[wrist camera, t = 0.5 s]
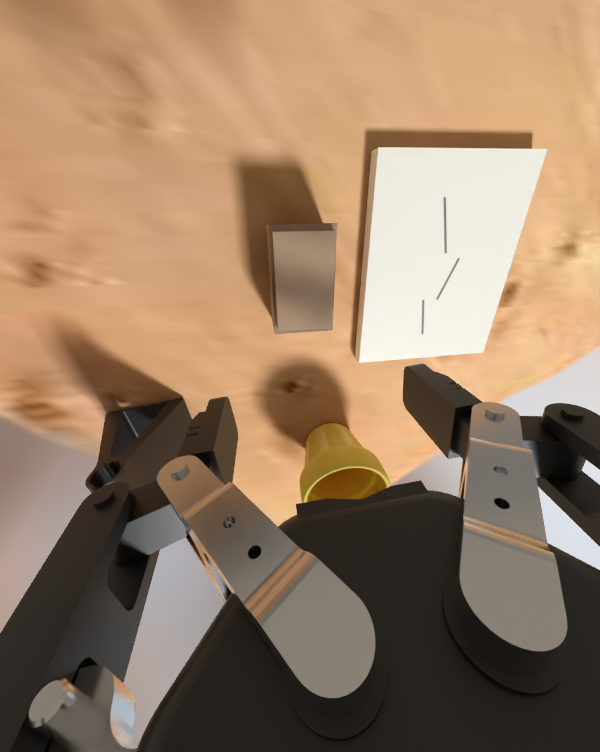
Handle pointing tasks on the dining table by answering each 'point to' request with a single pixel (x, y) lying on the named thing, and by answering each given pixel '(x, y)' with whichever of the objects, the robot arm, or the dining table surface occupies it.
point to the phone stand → (139, 443)
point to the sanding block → (301, 276)
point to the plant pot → (339, 466)
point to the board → (439, 247)
